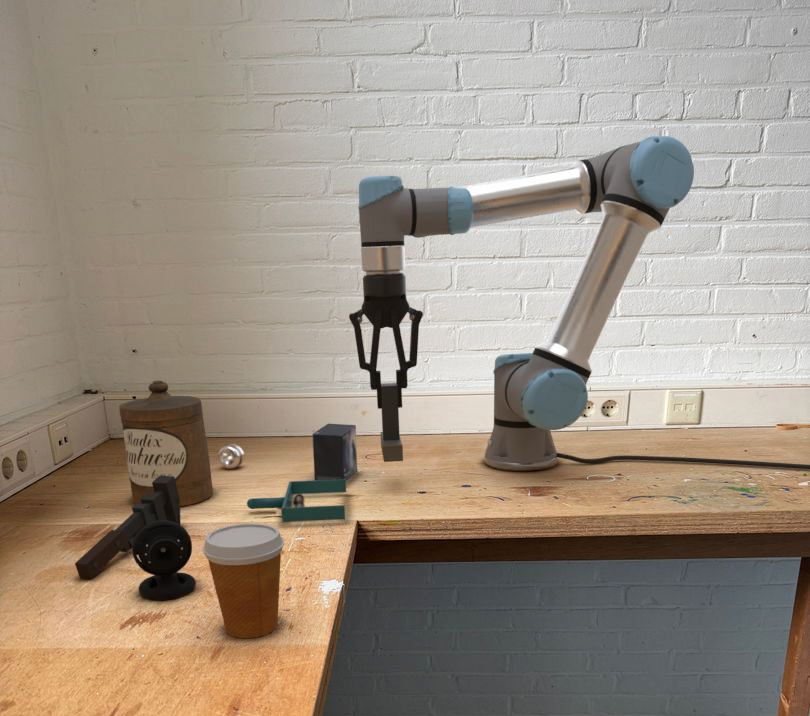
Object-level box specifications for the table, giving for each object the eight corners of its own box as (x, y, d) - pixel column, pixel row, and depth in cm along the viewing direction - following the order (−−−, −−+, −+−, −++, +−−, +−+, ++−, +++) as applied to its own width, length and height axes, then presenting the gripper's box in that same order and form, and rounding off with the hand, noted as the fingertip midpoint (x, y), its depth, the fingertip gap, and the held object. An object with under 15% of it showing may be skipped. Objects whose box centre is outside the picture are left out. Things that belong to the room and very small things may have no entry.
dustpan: (346, 495, 151) (345, 479, 149) (345, 524, 135) (344, 505, 133) (253, 499, 150) (252, 482, 149) (241, 528, 134) (239, 510, 133)
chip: (299, 504, 146) (306, 498, 146) (297, 511, 142) (305, 504, 142) (292, 497, 146) (299, 491, 146) (290, 504, 142) (298, 497, 142)
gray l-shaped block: (399, 446, 156) (396, 379, 152) (403, 461, 145) (400, 389, 140) (381, 447, 156) (378, 380, 152) (383, 462, 145) (380, 390, 140)
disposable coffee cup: (217, 613, 102) (207, 524, 98) (292, 608, 103) (285, 520, 99) (206, 647, 93) (194, 551, 89) (288, 642, 94) (280, 546, 90)
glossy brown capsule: (295, 511, 142) (305, 510, 142) (293, 518, 138) (304, 517, 138) (294, 501, 141) (304, 500, 141) (292, 508, 137) (303, 507, 137)
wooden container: (116, 505, 148) (97, 386, 141) (164, 484, 161) (150, 374, 154) (183, 511, 143) (168, 388, 136) (228, 489, 156) (216, 376, 149)
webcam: (141, 605, 105) (131, 533, 101) (135, 585, 111) (125, 517, 108) (201, 594, 108) (193, 524, 104) (192, 575, 114) (184, 509, 111)
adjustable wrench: (87, 604, 117) (171, 519, 137) (103, 606, 116) (185, 520, 137) (70, 556, 113) (159, 475, 133) (86, 557, 112) (174, 476, 132)
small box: (345, 487, 156) (342, 434, 152) (313, 486, 157) (310, 433, 153) (359, 473, 165) (357, 423, 162) (329, 472, 167) (326, 422, 163)
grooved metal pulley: (245, 467, 173) (243, 444, 171) (238, 470, 170) (236, 447, 169) (225, 465, 174) (223, 443, 173) (218, 469, 172) (215, 446, 170)
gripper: (427, 270, 143) (431, 401, 151) (338, 274, 143) (346, 405, 151) (431, 271, 136) (435, 408, 144) (337, 275, 136) (346, 412, 144)
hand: (389, 406), depth 147 cm, fingers closed on gray l-shaped block, 3 cm apart
